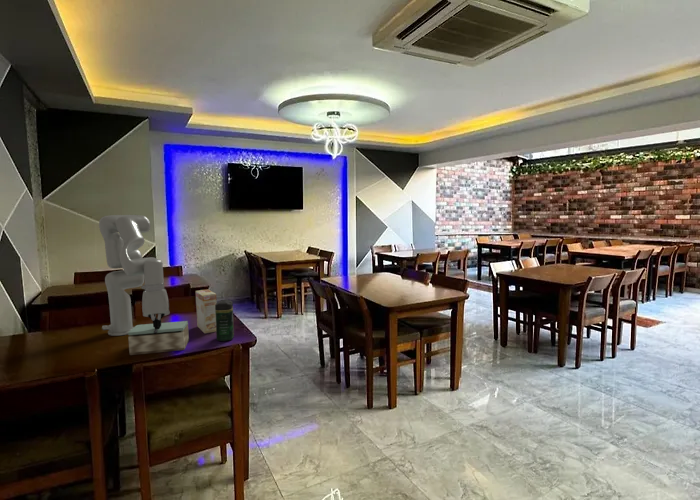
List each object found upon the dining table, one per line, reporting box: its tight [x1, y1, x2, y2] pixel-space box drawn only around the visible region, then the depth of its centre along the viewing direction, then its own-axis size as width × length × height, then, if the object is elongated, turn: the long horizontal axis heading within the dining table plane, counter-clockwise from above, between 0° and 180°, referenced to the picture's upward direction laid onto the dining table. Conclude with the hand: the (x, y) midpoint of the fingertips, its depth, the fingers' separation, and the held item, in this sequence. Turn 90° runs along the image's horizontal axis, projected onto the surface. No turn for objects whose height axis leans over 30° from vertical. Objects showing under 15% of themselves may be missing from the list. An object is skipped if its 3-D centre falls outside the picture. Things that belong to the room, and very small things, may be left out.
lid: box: [127, 320, 189, 336], centre depth 179 cm, size 22×15×2 cm
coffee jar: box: [215, 299, 235, 342], centre depth 190 cm, size 10×8×19 cm
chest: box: [128, 323, 190, 356], centre depth 180 cm, size 22×14×8 cm, turn 104°
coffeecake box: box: [195, 289, 217, 334], centre depth 206 cm, size 15×7×20 cm, turn 34°
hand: (157, 328), depth 176 cm, fingers closed
